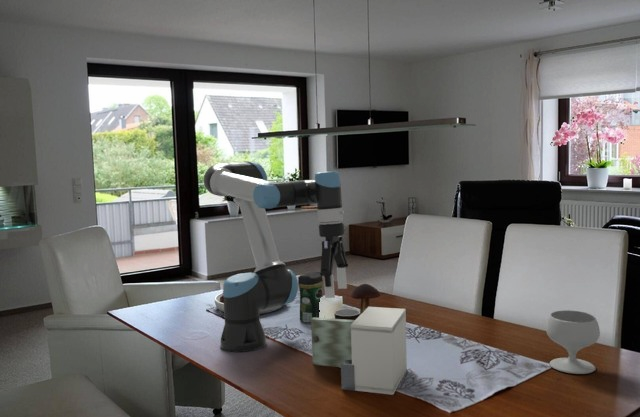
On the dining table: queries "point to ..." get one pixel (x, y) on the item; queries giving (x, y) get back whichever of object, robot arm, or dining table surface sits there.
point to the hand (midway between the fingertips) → (336, 292)
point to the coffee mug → (347, 314)
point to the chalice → (572, 338)
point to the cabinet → (379, 349)
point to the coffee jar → (310, 295)
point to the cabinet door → (331, 341)
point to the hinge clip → (347, 375)
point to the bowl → (220, 305)
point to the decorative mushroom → (365, 295)
